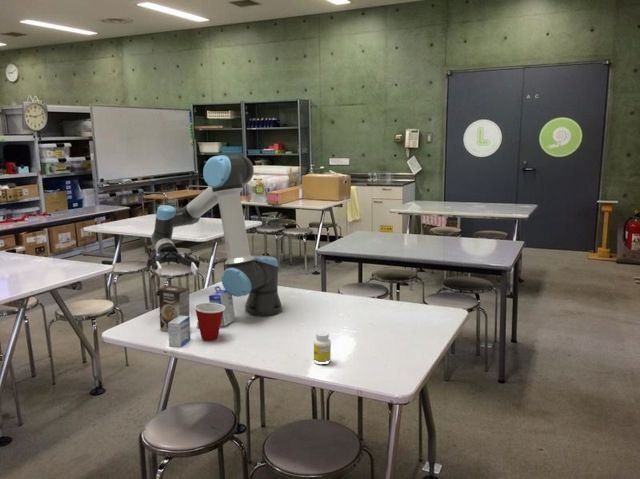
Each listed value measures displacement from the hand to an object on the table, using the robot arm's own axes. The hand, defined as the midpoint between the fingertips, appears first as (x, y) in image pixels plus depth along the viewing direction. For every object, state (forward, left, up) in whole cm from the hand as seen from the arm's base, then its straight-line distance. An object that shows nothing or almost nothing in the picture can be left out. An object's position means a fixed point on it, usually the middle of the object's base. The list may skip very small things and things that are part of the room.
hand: (178, 272), depth 199 cm
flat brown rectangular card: (-9, +4, -20) cm, 23 cm away
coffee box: (+2, +7, -21) cm, 22 cm away
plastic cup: (-11, +17, -21) cm, 29 cm away
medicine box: (0, +20, -21) cm, 29 cm away
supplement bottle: (-45, +45, -21) cm, 67 cm away
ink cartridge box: (-16, +3, -21) cm, 26 cm away
